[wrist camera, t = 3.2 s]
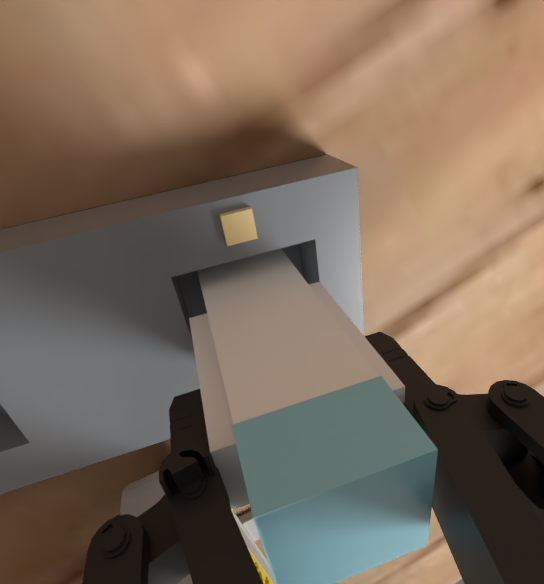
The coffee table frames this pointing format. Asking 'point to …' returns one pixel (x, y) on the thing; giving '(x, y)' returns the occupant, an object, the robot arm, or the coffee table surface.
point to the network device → (150, 491)
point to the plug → (314, 428)
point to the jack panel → (146, 304)
